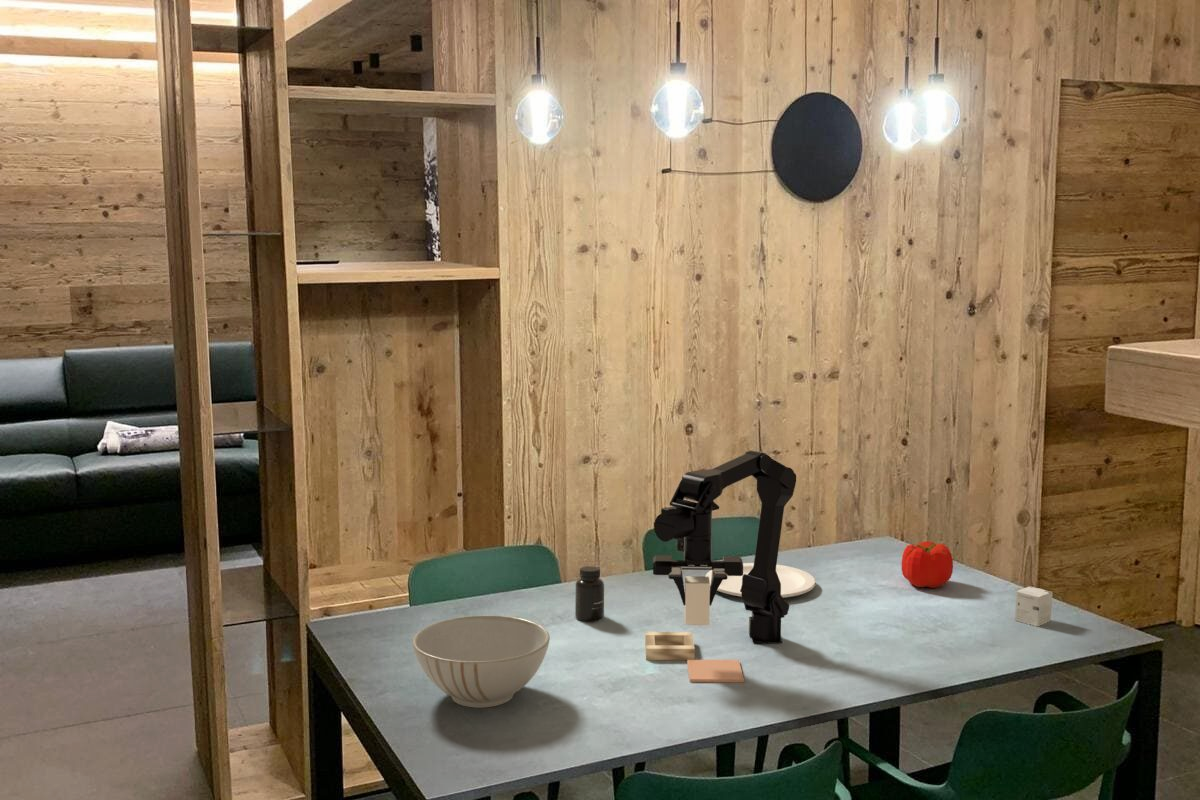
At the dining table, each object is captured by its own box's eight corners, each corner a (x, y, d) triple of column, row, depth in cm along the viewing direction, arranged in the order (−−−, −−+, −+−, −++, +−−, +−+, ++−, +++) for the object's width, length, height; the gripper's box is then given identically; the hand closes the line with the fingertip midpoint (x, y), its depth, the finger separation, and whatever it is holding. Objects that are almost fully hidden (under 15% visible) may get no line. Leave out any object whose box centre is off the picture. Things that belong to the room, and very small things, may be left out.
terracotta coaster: (738, 662, 254) (738, 659, 254) (743, 682, 243) (743, 679, 243) (686, 662, 254) (687, 659, 254) (689, 682, 243) (689, 679, 243)
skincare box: (1014, 620, 280) (1015, 590, 279) (1027, 615, 284) (1029, 585, 283) (1038, 627, 276) (1039, 596, 275) (1051, 621, 280) (1053, 591, 279)
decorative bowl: (435, 733, 219) (434, 670, 218) (399, 682, 244) (397, 625, 242) (570, 709, 230) (570, 649, 228) (523, 662, 254) (522, 608, 252)
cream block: (708, 617, 254) (708, 576, 253) (709, 625, 249) (709, 583, 248) (684, 617, 255) (685, 576, 253) (685, 624, 250) (685, 583, 248)
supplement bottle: (601, 623, 279) (600, 573, 277) (572, 621, 280) (572, 572, 278) (606, 613, 286) (606, 565, 284) (578, 612, 287) (578, 563, 285)
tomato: (918, 573, 317) (919, 535, 316) (962, 584, 308) (964, 545, 306) (888, 584, 308) (890, 544, 307) (933, 596, 299) (935, 555, 297)
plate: (823, 604, 293) (823, 595, 292) (709, 604, 293) (709, 595, 293) (805, 571, 321) (805, 562, 320) (701, 571, 321) (701, 562, 321)
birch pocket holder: (691, 642, 266) (691, 632, 266) (694, 660, 256) (694, 648, 255) (645, 642, 266) (645, 631, 266) (646, 659, 256) (646, 648, 255)
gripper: (740, 523, 257) (739, 593, 259) (653, 522, 257) (652, 592, 260) (743, 537, 246) (742, 610, 248) (653, 536, 246) (652, 609, 249)
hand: (697, 604), depth 251 cm, fingers closed on cream block, 5 cm apart
